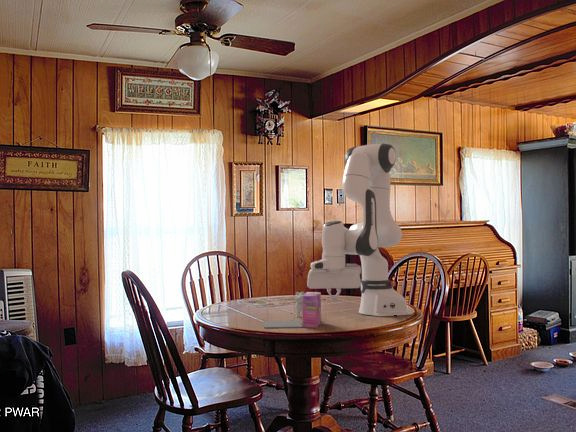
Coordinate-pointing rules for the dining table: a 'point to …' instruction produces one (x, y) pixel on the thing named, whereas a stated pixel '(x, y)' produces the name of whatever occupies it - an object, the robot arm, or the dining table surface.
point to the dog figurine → (299, 302)
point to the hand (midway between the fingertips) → (334, 300)
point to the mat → (283, 324)
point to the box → (311, 309)
